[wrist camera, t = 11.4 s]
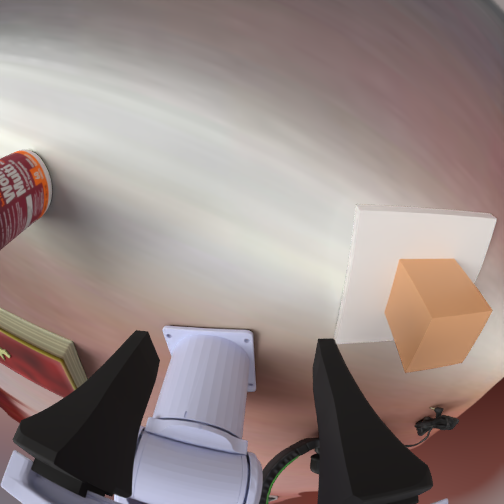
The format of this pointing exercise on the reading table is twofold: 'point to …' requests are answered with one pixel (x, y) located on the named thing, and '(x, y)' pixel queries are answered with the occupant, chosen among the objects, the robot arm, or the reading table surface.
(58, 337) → the hardcover book
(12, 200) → the pill bottle
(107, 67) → the reading table surface
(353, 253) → the post plate
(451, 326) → the tan wooden cube
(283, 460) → the headset
